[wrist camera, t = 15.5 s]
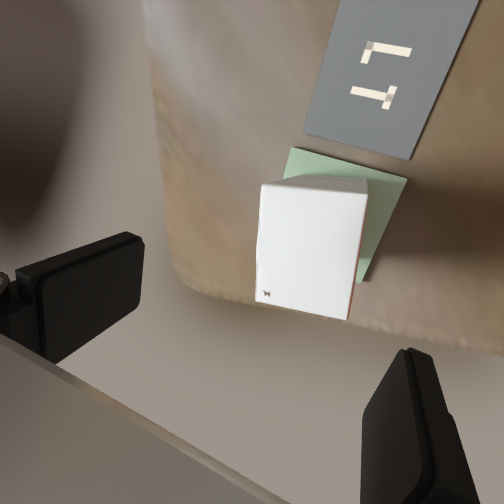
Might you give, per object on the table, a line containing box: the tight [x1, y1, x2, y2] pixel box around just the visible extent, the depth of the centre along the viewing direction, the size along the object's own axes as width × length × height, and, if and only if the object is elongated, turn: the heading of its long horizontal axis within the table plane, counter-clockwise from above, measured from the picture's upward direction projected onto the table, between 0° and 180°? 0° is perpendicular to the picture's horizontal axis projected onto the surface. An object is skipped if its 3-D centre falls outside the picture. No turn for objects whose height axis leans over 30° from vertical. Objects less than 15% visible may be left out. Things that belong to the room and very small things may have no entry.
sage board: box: [283, 147, 407, 284], centre depth 30 cm, size 11×11×1 cm
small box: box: [255, 174, 369, 320], centre depth 24 cm, size 8×6×13 cm
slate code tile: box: [302, 0, 479, 160], centre depth 25 cm, size 12×10×1 cm
